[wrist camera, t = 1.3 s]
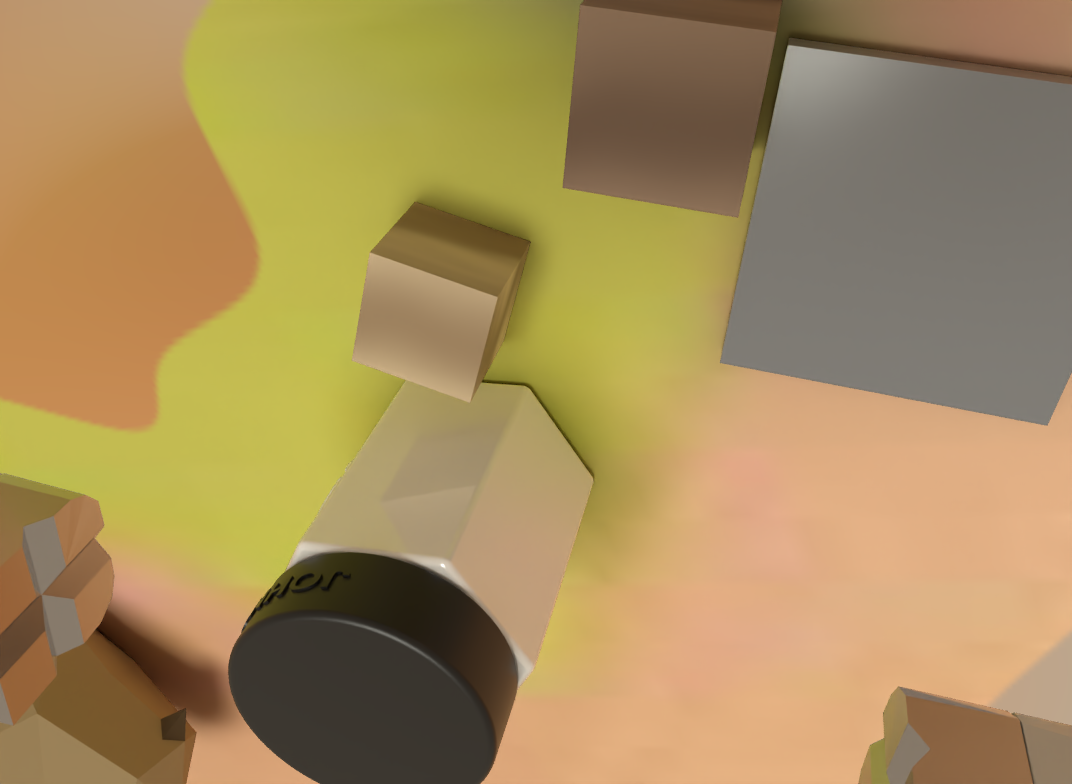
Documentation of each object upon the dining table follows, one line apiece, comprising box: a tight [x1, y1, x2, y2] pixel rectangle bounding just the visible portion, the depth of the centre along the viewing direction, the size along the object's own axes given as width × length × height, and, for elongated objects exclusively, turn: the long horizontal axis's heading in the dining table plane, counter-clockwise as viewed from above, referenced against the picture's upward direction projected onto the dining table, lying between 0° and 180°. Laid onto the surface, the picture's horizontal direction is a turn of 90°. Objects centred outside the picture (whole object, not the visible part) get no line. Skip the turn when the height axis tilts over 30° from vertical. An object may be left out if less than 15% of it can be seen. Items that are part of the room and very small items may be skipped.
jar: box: [228, 380, 593, 784], centre depth 33 cm, size 9×8×12 cm
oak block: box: [352, 202, 531, 403], centre depth 32 cm, size 4×4×4 cm
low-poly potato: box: [0, 629, 196, 784], centre depth 47 cm, size 15×11×12 cm
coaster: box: [720, 38, 1072, 425], centre depth 28 cm, size 10×10×1 cm
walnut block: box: [563, 0, 782, 217], centre depth 26 cm, size 4×4×5 cm
